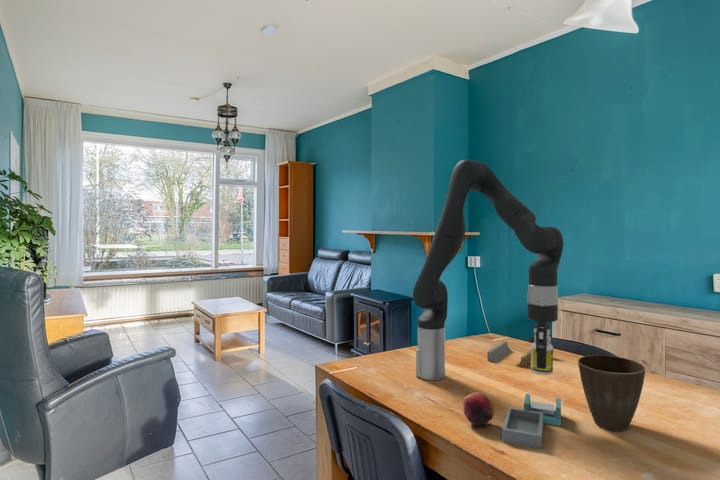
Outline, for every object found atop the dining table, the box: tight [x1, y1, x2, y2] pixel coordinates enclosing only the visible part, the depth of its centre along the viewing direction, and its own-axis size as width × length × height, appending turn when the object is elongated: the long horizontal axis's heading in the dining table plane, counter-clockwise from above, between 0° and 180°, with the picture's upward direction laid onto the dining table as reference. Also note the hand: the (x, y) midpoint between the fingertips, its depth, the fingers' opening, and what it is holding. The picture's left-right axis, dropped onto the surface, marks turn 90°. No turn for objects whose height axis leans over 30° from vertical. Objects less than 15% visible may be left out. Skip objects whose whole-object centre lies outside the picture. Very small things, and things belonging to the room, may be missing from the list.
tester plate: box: [530, 401, 555, 415], centre depth 116 cm, size 6×4×1 cm
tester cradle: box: [523, 393, 562, 427], centre depth 116 cm, size 9×7×4 cm
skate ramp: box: [487, 339, 531, 369], centre depth 165 cm, size 29×35×8 cm
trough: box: [501, 407, 544, 450], centre depth 107 cm, size 9×14×3 cm, turn 155°
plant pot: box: [577, 354, 646, 432], centre depth 111 cm, size 15×15×16 cm
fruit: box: [462, 391, 495, 427], centre depth 112 cm, size 8×8×8 cm
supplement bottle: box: [530, 335, 554, 376], centre depth 115 cm, size 5×5×10 cm
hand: (541, 364), depth 115 cm, fingers closed on supplement bottle, 5 cm apart
